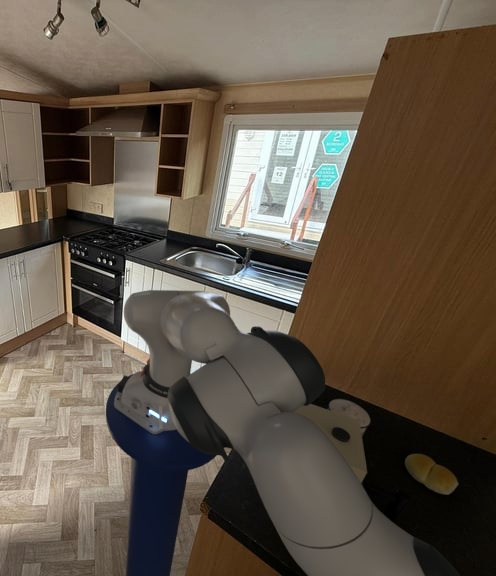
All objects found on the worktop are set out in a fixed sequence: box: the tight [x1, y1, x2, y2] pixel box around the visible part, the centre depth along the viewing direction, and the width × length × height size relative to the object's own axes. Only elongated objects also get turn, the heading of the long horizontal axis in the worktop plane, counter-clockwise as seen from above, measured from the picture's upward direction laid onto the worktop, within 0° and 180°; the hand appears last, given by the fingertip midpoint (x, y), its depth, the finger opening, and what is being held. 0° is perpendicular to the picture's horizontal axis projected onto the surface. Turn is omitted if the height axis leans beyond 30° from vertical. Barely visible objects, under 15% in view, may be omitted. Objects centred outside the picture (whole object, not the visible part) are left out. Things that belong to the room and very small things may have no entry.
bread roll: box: [404, 453, 459, 496], centre depth 74 cm, size 8×9×4 cm
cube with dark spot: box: [293, 403, 368, 483], centre depth 71 cm, size 14×14×17 cm
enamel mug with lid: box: [327, 398, 371, 436], centre depth 83 cm, size 12×9×12 cm
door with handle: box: [361, 479, 411, 523], centre depth 70 cm, size 21×14×10 cm, turn 60°
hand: (409, 570), depth 54 cm, fingers open, 8 cm apart
